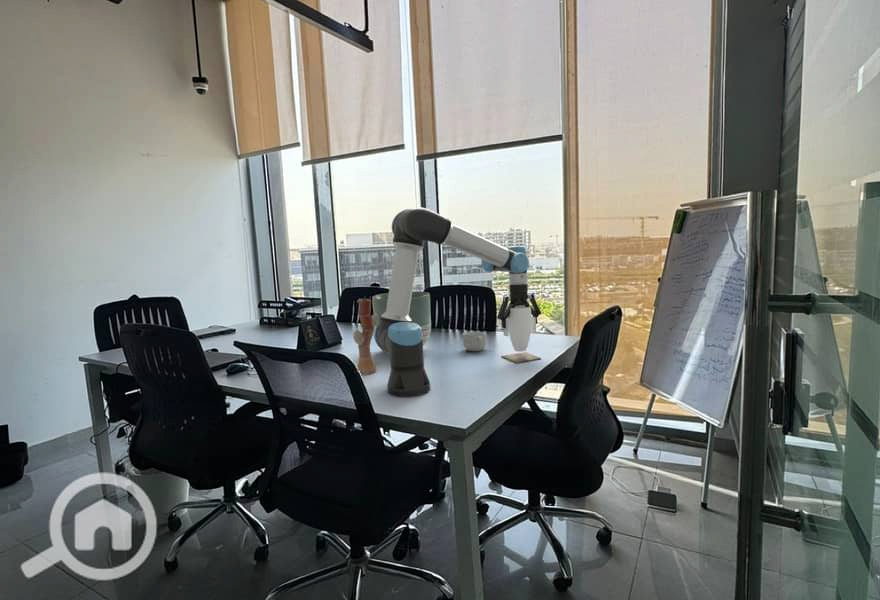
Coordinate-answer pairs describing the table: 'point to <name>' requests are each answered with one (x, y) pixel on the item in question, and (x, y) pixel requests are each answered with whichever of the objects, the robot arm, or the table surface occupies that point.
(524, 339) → the cup
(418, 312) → the planter
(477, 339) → the teacup
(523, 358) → the coaster
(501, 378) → the table surface
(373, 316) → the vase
